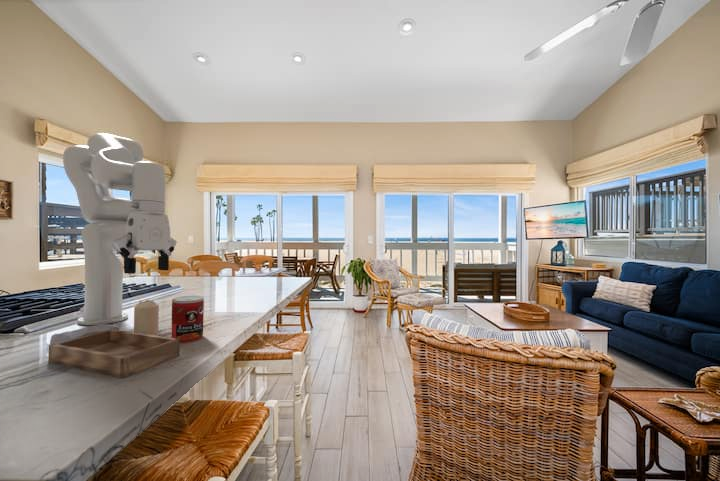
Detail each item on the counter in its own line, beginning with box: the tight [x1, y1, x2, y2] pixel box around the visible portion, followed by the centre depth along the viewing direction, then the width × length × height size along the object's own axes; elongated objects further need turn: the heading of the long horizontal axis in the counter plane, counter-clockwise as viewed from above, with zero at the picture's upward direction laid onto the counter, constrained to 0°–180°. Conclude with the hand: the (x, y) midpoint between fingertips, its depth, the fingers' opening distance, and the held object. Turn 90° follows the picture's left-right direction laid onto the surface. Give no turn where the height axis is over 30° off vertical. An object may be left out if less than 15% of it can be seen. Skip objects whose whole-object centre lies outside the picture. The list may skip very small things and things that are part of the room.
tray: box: [48, 329, 181, 379], centre depth 71 cm, size 22×13×4 cm, turn 73°
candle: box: [133, 299, 160, 336], centre depth 87 cm, size 6×6×10 cm
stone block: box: [49, 323, 120, 345], centre depth 83 cm, size 12×5×10 cm
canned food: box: [170, 295, 205, 344], centre depth 87 cm, size 8×8×11 cm
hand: (147, 271), depth 87 cm, fingers open, 9 cm apart
